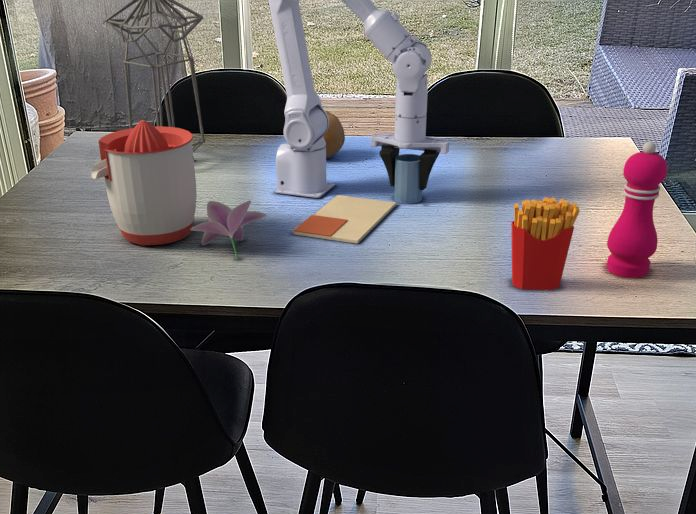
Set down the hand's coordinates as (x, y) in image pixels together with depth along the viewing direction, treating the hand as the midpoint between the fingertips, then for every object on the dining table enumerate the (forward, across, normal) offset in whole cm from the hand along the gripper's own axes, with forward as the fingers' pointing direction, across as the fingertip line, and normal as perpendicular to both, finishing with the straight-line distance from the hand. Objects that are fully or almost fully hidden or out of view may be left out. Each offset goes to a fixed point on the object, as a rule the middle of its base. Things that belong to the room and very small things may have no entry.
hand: (408, 186), depth 157 cm
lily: (+3, -20, -34) cm, 40 cm away
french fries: (+3, +30, -29) cm, 42 cm away
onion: (+3, -26, +19) cm, 32 cm away
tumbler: (+2, 0, 0) cm, 2 cm away
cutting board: (+2, -7, -14) cm, 16 cm away
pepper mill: (+3, +42, -19) cm, 46 cm away
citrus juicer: (+3, -36, -33) cm, 49 cm away
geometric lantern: (+3, -56, +4) cm, 56 cm away
